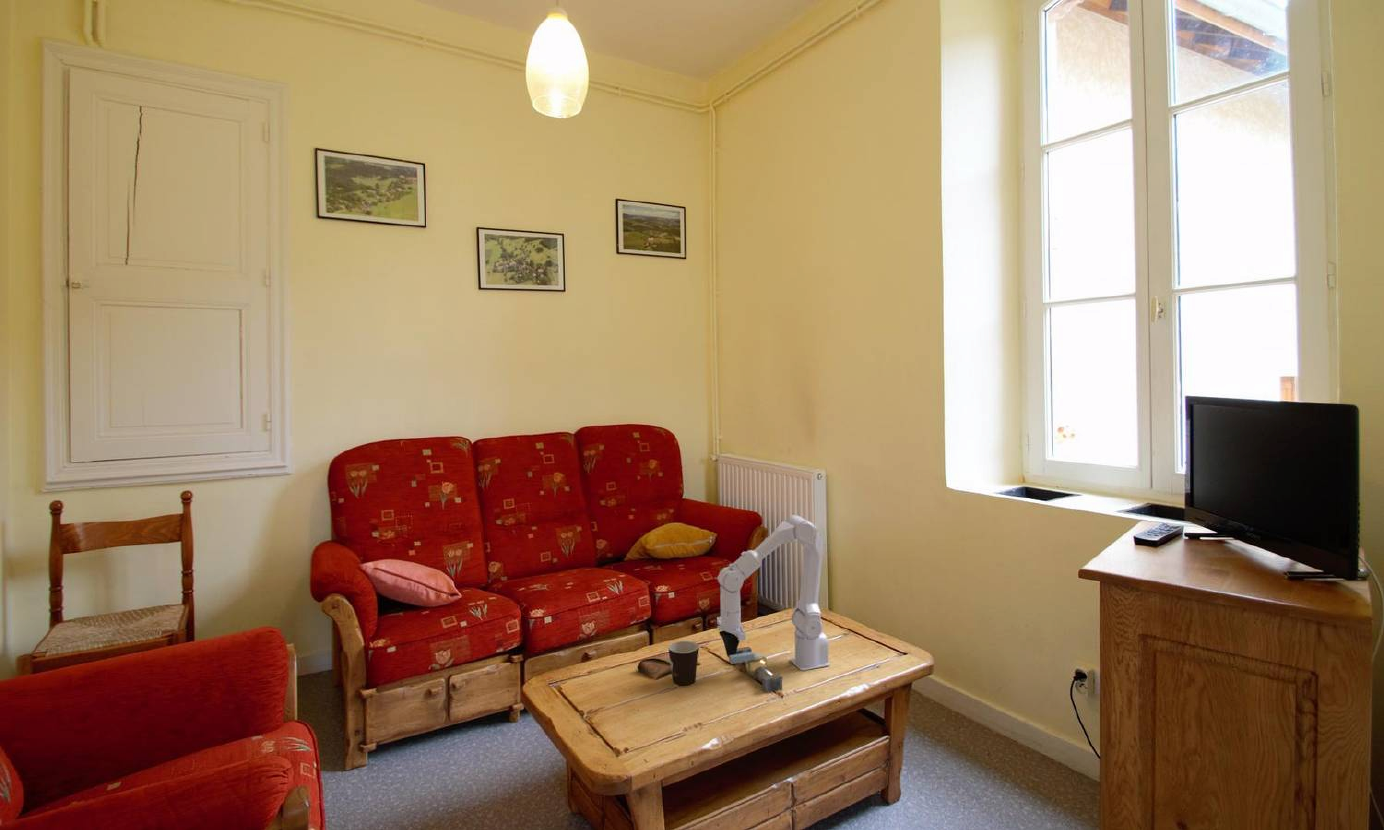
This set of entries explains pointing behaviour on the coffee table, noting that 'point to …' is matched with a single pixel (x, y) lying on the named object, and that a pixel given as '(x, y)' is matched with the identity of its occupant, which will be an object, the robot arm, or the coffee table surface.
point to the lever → (744, 657)
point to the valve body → (761, 672)
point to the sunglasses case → (656, 666)
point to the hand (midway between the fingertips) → (731, 656)
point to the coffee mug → (683, 662)
